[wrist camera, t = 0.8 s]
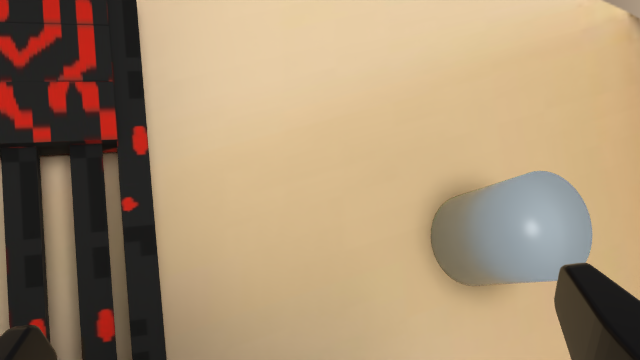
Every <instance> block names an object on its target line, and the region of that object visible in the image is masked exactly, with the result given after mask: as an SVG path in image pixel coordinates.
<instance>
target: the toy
mask: <svg viewBox="0 0 640 360" xmlns="http://www.w3.org/2000/svg"><path fill="white" fill-rule="evenodd" d="M110 152H118V166H119V180H120V194H121V208H122V221H123V235H124V249H125V263H126V276H127V290H128V304H129V317H130V331H131V345H132V359H133V360H166V349H165V337H164V325H163V314H162V302H161V290H160V279H159V267H158V256H157V244H156V232H155V221H154V209H153V197H152V186H151V174H150V161H149V149H148V137H147V125H146V113H145V100H144V88H143V76H142V64H141V52H140V39H139V27H138V15H137V3H136V0H0V157H1V162H2V183H3V203H4V223H5V244H6V264H7V284H8V305H9V325H10V328H12V327H16V326H24V325H36V326H37V327H39V328H40V329H41V331H42V332H43V334H44V335H45V337H46V338H47V340H48V341H49V343H50V333H49V316H48V298H47V280H46V263H45V245H44V228H43V210H42V193H41V175H40V158H39V156H42V155H64V154H70V162H71V178H72V195H73V211H74V228H75V244H76V261H77V277H78V293H79V310H80V326H81V343H82V359H83V360H117V353H116V338H115V324H114V310H113V296H112V282H111V267H110V253H109V239H108V225H107V211H106V197H105V182H104V168H103V154H102V153H110Z"/></svg>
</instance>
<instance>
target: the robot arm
mask: <svg viewBox="0 0 640 360" xmlns="http://www.w3.org/2000/svg"><path fill="white" fill-rule="evenodd" d="M554 303H555V309H556V313H557V316H558V319H559V322H560V325H561V329H562V332H563V335H564V338H565V341H566V344H567V347H568V350H569V353H570V356H571V360H640V301H639V300H638V299H637V298H635V297H634V296H633V295H631V294H630V293H629V292H627V291H626V290H624V289H623V288H622V287H620V286H619V285H618V284H616V283H615V282H614V281H612V280H611V279H609V278H608V277H607V276H605V275H604V274H603V273H601V272H600V271H599V270H597V269H596V268H594V267H593V266H592V265H590V264H588V263H575V264H566V265H563V266H562V267H561V268H560V271H559V275H558V281H557V286H556V292H555V298H554ZM0 360H57V355H56V352H55V350H54V349H53V347H52V346H51V344H50V343H49V341H48V340H47V338H46V337H45V335H44V334H43V332H42V331H41V329H40V328H39V327H37V326H36V325H24V326H16V327H12V328H10V329H8V330H7V331H6V332H5V333H4V334H3V335H2V336H0Z"/></svg>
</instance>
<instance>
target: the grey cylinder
mask: <svg viewBox="0 0 640 360" xmlns="http://www.w3.org/2000/svg"><path fill="white" fill-rule="evenodd" d="M431 243H432V248H433V252H434V255H435V257H436V259H437V261H438V263H439V265H440V266H441V268H442V269H443V270H444V271H445V272H446V274H447V275H449V276H450V277H451V278H452V279H454V280H455V281H457V282H459V283H462V284H465V285H470V286H480V285H496V284H512V283H528V282H544V281H558V275H559V271H560V268H561V267H562V266H563V265H566V264H575V263H585V262H586V260H587V258H588V256H589V253H590V250H591V244H592V225H591V220H590V216H589V213H588V210H587V207H586V205H585V203H584V201H583V199H582V198H581V196H580V194H579V193H578V192H577V190H576V189H575V188H574V187H573V186H572V185H571V184H570V183H569V182H568V181H566V180H565V179H564V178H562V177H560V176H558V175H556V174H554V173H551V172H546V171H534V172H530V173H527V174H524V175H521V176H518V177H515V178H512V179H509V180H505V181H502V182H499V183H496V184H493V185H490V186H487V187H484V188H481V189H478V190H475V191H471V192H468V193H465V194H462V195H459V196H456V197H453V198H451V199H449V200H448V201H446V202H445V203H444V204H443V205H442V206H441V207H440V208H439V210H438V211H437V213H436V215H435V217H434V219H433V223H432V228H431Z"/></svg>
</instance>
